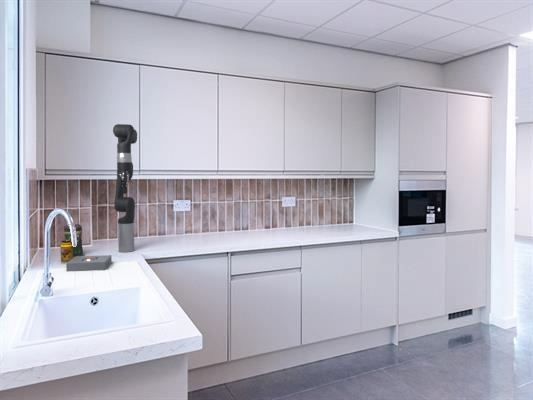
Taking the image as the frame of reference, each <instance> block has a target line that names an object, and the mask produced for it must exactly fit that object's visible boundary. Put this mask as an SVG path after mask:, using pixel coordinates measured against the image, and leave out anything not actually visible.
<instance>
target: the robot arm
mask: <svg viewBox="0 0 533 400" xmlns="http://www.w3.org/2000/svg"><path fill="white" fill-rule="evenodd" d="M112 132H113V133H112V134H113V135H114V137H116V138H117V145H116V148H117V149H116V151H117V153H116V154H117V155H116V188H115V189H116V190H115V194H114V209H115V211H116V212H117V213H118V212H119V213H125V215H124V216H122V217H119V218H118V219H117V237H118V238H117V241H118V243H117V244H118V247H117V248H118V252H120V253H130V251H131V252H134V251H135V210H136V203H135V198H134V197H132V196H125V194H128V186H129V183H130V182H131V180H132V178H133V175H134V163H133V161H132V160H133V158H132V144H133V145H135V144H136V143H137V141H138V132H137V130H136V129H135V127H134V126H133V125H132V124H121V123H117V124H115V125H114V126H113V128H112Z"/></svg>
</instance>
